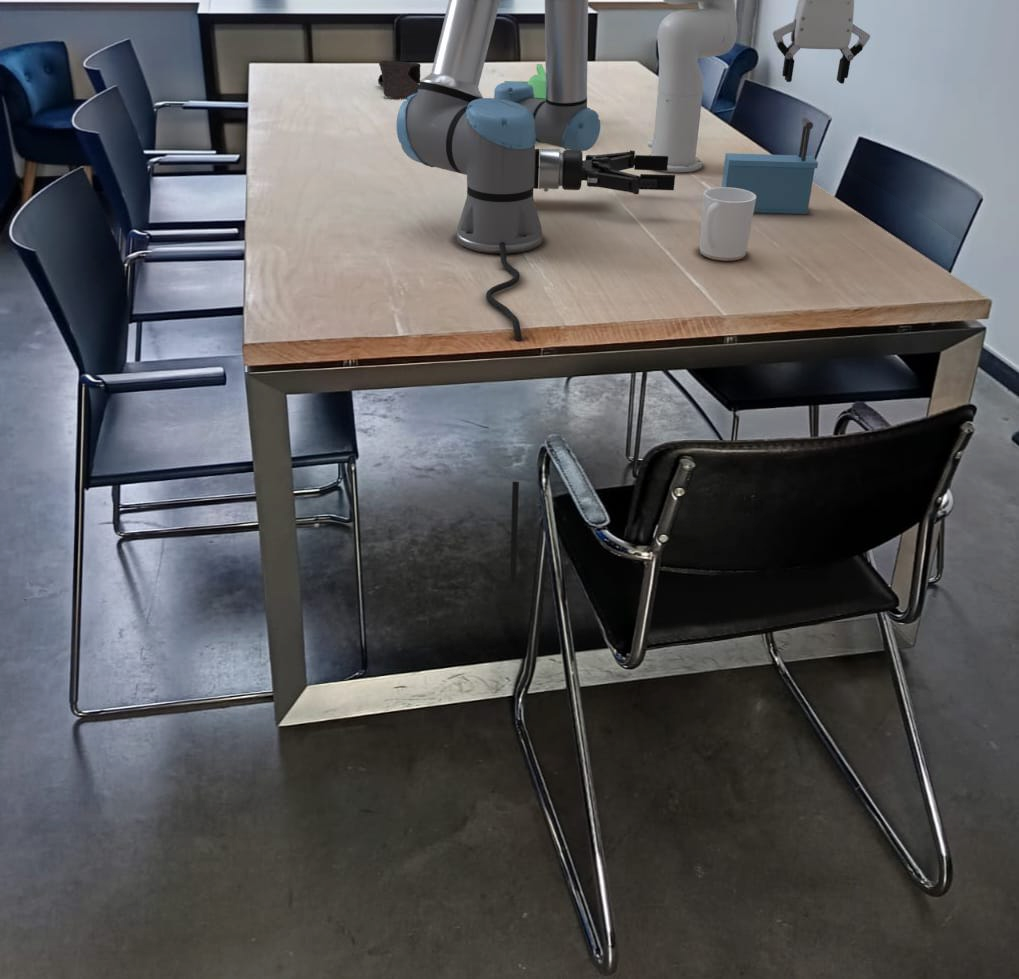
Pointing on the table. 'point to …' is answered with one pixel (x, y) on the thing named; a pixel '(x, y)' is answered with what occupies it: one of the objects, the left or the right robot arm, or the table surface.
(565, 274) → the table surface
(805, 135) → the lid
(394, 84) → the axe head
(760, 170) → the chest
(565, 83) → the left robot arm
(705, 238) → the mug
